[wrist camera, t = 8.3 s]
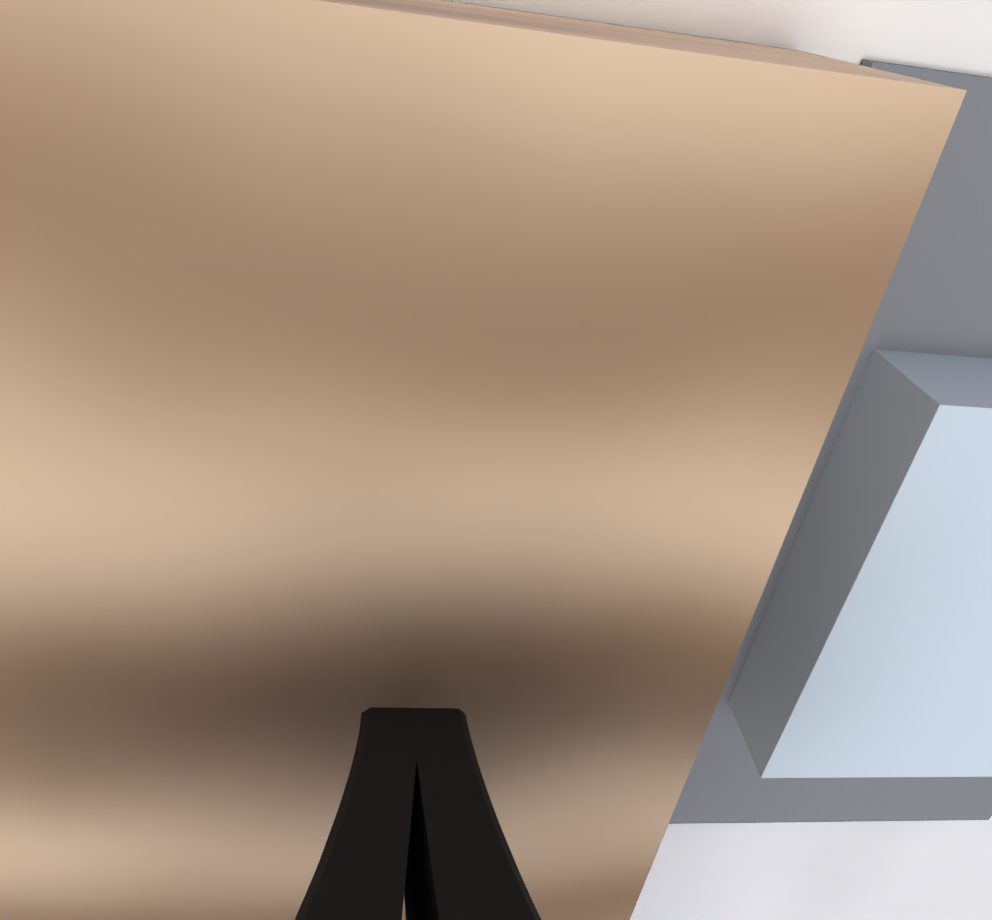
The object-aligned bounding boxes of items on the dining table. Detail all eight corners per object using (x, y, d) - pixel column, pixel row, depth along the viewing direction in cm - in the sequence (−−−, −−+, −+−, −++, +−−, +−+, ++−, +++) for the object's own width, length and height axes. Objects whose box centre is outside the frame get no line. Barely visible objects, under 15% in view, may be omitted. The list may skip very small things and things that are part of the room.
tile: (760, 778, 16) (728, 702, 18) (1014, 776, 17) (960, 704, 19) (940, 404, 12) (873, 349, 13) (1277, 427, 13) (1175, 372, 14)
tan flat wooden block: (572, 813, 20) (604, 981, 17) (88, 819, 19) (18, 1005, 15) (798, 49, 11) (967, 90, 8) (-142, -83, 9) (-454, -107, 6)
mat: (981, 809, 22) (988, 819, 22) (609, 813, 21) (611, 824, 20) (1481, 147, 13) (1503, 150, 12) (862, 59, 11) (873, 61, 11)
